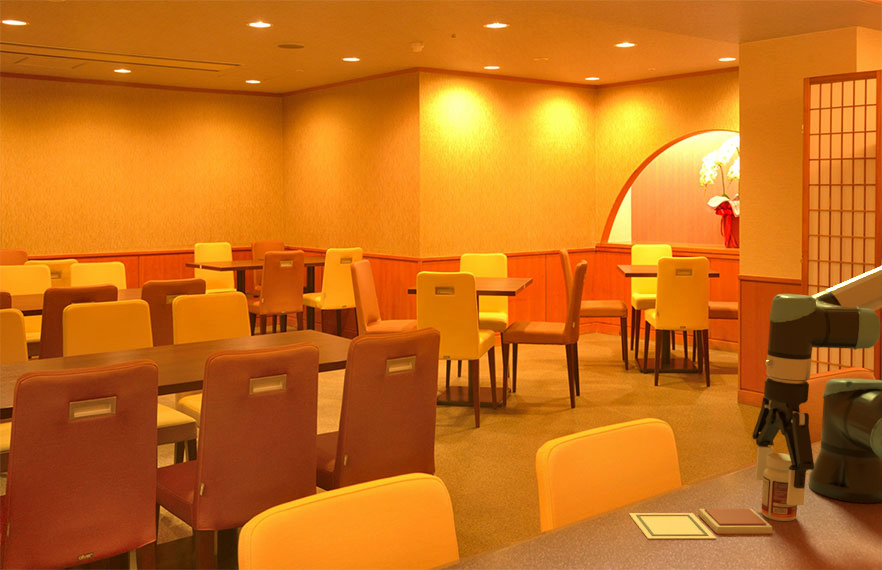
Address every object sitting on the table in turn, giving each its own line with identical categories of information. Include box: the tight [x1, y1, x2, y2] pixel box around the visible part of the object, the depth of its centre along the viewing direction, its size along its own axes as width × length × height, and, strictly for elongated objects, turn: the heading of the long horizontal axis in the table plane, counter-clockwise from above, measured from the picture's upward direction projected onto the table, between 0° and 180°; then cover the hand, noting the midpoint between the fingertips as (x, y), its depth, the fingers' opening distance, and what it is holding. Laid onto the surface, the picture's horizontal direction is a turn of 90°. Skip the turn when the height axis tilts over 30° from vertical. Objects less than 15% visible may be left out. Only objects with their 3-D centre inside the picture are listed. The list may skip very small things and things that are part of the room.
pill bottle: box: [760, 452, 798, 522], centre depth 167 cm, size 6×6×11 cm
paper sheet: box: [628, 512, 717, 540], centre depth 161 cm, size 12×12×1 cm
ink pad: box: [698, 508, 773, 535], centre depth 163 cm, size 10×9×2 cm
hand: (778, 491), depth 167 cm, fingers open, 13 cm apart
